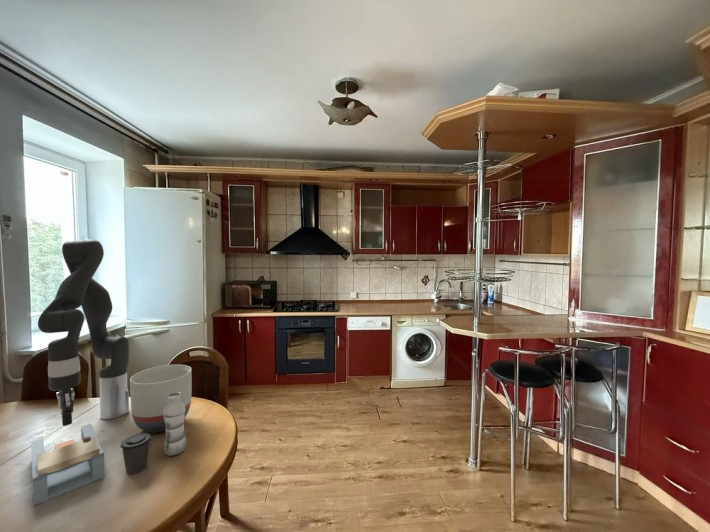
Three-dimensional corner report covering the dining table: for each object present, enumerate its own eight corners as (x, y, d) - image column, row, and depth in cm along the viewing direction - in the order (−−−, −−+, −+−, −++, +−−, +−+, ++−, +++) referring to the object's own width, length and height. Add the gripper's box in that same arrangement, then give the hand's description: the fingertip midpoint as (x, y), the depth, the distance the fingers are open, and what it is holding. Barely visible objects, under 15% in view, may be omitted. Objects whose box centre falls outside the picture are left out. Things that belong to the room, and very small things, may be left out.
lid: (94, 442, 100) (94, 433, 100) (99, 455, 93) (99, 446, 93) (37, 462, 90) (36, 452, 90) (37, 477, 84) (37, 467, 84)
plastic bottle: (190, 448, 107) (189, 391, 107) (173, 460, 101) (172, 400, 100) (176, 444, 109) (175, 389, 109) (159, 456, 103) (158, 397, 102)
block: (74, 453, 103) (73, 438, 103) (75, 459, 100) (75, 444, 100) (55, 460, 100) (55, 444, 100) (56, 466, 97) (56, 450, 96)
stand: (91, 441, 112) (91, 420, 112) (104, 476, 93) (104, 452, 93) (31, 461, 101) (31, 438, 101) (33, 505, 82) (32, 478, 82)
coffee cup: (117, 481, 91) (117, 448, 91) (123, 465, 99) (122, 434, 98) (150, 472, 95) (149, 440, 95) (153, 457, 102) (153, 427, 102)
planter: (143, 449, 106) (141, 388, 106) (123, 430, 119) (121, 375, 118) (201, 424, 123) (201, 371, 122) (179, 409, 135) (178, 361, 134)
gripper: (83, 373, 97) (85, 427, 98) (77, 363, 106) (79, 412, 106) (49, 381, 91) (52, 437, 92) (46, 369, 100) (49, 421, 101)
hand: (67, 424), depth 99 cm, fingers closed
